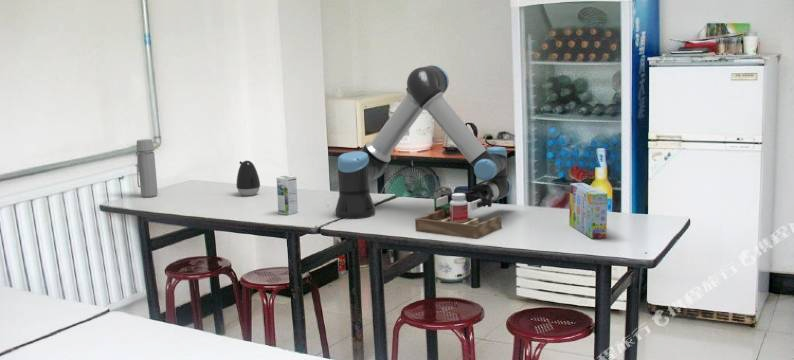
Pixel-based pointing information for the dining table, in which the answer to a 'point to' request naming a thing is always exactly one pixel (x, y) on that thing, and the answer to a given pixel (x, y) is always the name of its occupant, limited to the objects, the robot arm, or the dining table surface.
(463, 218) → the pill bottle
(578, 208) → the snack box
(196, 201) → the dining table surface
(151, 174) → the water bottle
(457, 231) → the walled tray
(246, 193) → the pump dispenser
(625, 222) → the dining table surface
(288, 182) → the syrup box
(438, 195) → the food container
